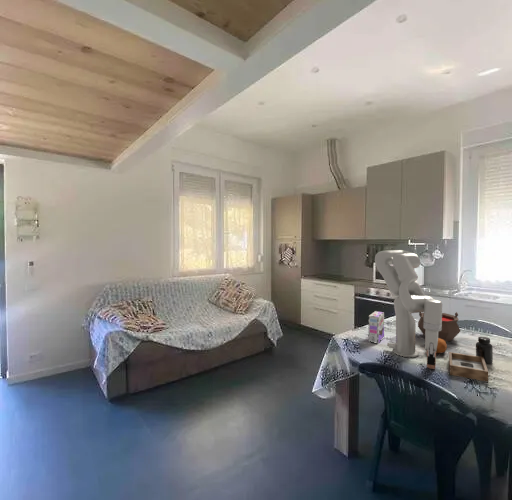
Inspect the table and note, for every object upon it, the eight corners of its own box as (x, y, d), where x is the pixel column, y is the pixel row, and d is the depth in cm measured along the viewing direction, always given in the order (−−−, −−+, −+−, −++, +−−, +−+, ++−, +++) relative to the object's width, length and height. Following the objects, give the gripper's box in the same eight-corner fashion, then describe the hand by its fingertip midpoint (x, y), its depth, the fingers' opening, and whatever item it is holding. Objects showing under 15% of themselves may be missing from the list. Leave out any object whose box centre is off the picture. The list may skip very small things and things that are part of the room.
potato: (452, 354, 162) (452, 340, 162) (435, 357, 159) (435, 343, 159) (437, 348, 171) (437, 335, 171) (421, 350, 168) (421, 337, 167)
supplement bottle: (485, 358, 156) (485, 335, 155) (496, 364, 149) (496, 340, 148) (472, 358, 156) (472, 336, 155) (482, 364, 149) (483, 340, 148)
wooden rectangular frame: (450, 374, 139) (450, 365, 139) (449, 360, 154) (449, 351, 154) (488, 381, 132) (488, 371, 131) (483, 366, 147) (483, 357, 147)
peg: (426, 367, 145) (427, 345, 144) (426, 364, 148) (427, 343, 148) (435, 369, 143) (436, 347, 143) (435, 366, 147) (436, 344, 146)
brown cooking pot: (448, 332, 198) (448, 307, 197) (470, 345, 174) (470, 317, 174) (410, 331, 201) (410, 307, 200) (426, 344, 177) (426, 317, 176)
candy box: (378, 344, 179) (378, 316, 178) (368, 342, 182) (368, 315, 181) (384, 337, 190) (384, 311, 189) (374, 336, 193) (374, 310, 192)
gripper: (424, 319, 153) (423, 354, 155) (422, 329, 139) (421, 368, 141) (441, 322, 149) (440, 358, 151) (441, 332, 135) (440, 371, 137)
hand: (431, 362), depth 146 cm, fingers closed on peg, 3 cm apart
